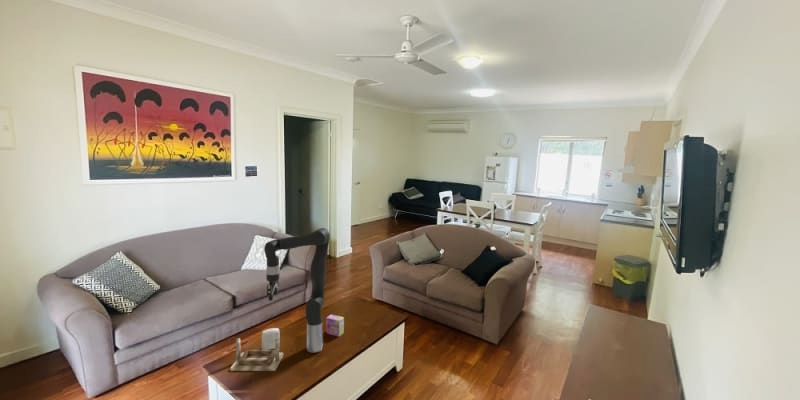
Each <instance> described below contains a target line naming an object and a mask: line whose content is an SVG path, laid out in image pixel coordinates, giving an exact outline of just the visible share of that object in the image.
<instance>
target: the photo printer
mask: <svg viewBox="0 0 800 400" xmlns="http://www.w3.org/2000/svg"><path fill="white" fill-rule="evenodd" d="M280 333H281V332H280V328H277V327H272V328H267V329H264V330H262V334H261V350H275V339H277V338H279V345H280V342H281V341H280V340H281V339H280V338H281V337H280V335H281V334H280Z"/></svg>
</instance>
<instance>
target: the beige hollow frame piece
mask: <svg viewBox="0 0 800 400" xmlns="http://www.w3.org/2000/svg"><path fill="white" fill-rule="evenodd" d="M235 346H236V347H235V353H236V356H235V359H236V360H235V361H234V363H233V364H232V365H231V367H230V371H231V372H234V371H237V372H239V371H240V372H241V371H242V372H243V371H244V372H255V371H256V372H257V371H258V372H260V371H261V372H268V371H269V372H273V371H274V372H276V370H277V369H278V366H279V365H280V362H281V360H282V359H283V357H284V352H280V344H279V338H277V339H275V349H269V350H262V349H246V350H244V351H243V352H241V351H242V350H241V349H242V347H241V338H240V337H238V338H237V337H236V339H235Z"/></svg>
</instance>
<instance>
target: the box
mask: <svg viewBox="0 0 800 400" xmlns="http://www.w3.org/2000/svg"><path fill="white" fill-rule="evenodd" d="M325 324H326V332H325V333H326V334H328V335H332V336H334V337H335V336H336V337H338V338H340V337H341V336H342V335H343V334H344V332H345V330H344V329H345V317H344V316H340V315H335V314H330V315H328V316H327V317H326V323H325Z"/></svg>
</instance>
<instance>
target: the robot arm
mask: <svg viewBox="0 0 800 400" xmlns="http://www.w3.org/2000/svg"><path fill="white" fill-rule="evenodd" d="M330 238H331V234H330V231H329V230H328V229H327V228H324V227H322V228H318V229H316V230H315V231H313V232H311V233H307V234H305V235H300V236H299V235H298V236H289V237H283V238H276V239H272V240H270V241H267V242H266V243H265V244H264V248H263V251H264V255H265V258H266V273H265V275H266V281H267V282H269V283H268V284H267V285H266V296H268V301H274V300H273V299H274V298H273V297H274V296H277V295H278V288H279V285H280V284H279V283H280V282H279V281H280V257H279V255H277V254H276V252H278V251H281V250H283V251H285V250H286V251H287V250H292V249H296V248H301V247H307V246H309V247H310V246H315V252H314V254H313V257H312V261H311V263H310V271H309V272H310V273H309V276H310V277H309V278H310V281H311V294H310V298H309V299H308V300H307V302H306V304H305V321H306V351H307V352H309V353H313V354H314V353H319V352H322V349H323V346H324V331H323V321H324V320H323V316H322V309H323V307H324V304H325V283H326V274H327V261H328V249H329V248H328V247H329V243H330Z"/></svg>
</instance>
